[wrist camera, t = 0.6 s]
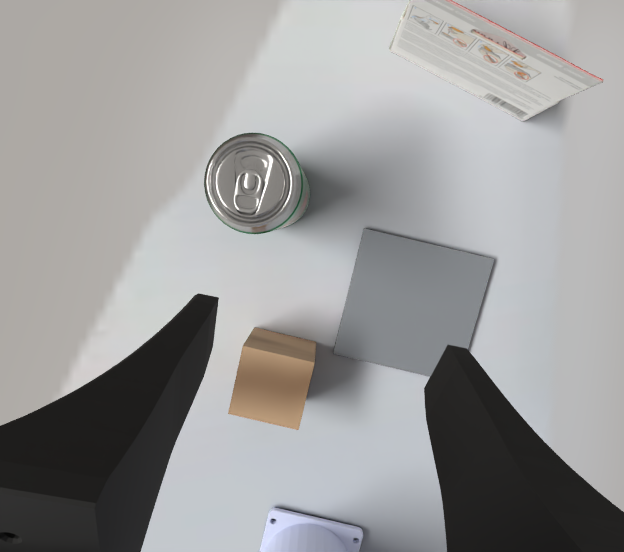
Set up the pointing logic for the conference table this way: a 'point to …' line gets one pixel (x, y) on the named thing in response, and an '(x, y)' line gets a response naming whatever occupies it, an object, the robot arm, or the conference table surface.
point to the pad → (410, 302)
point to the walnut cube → (273, 378)
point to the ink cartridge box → (485, 58)
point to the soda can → (256, 184)
